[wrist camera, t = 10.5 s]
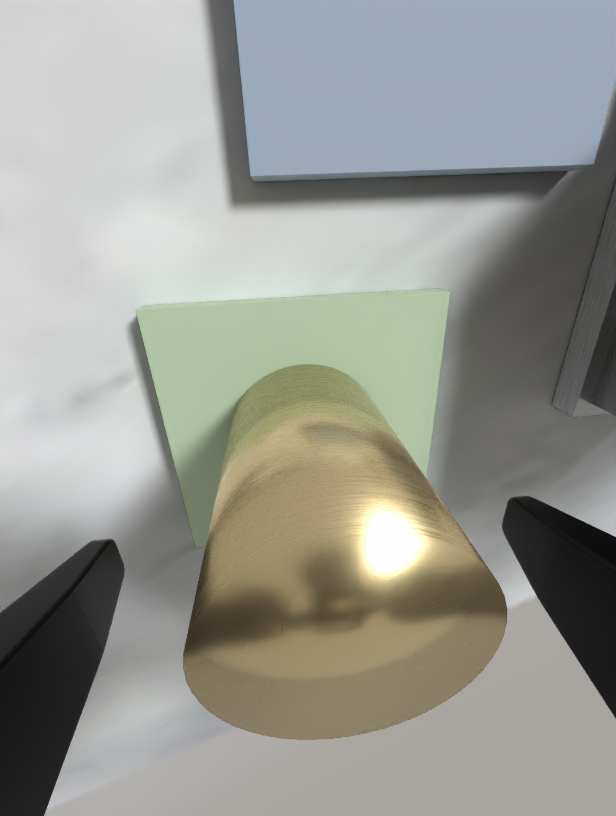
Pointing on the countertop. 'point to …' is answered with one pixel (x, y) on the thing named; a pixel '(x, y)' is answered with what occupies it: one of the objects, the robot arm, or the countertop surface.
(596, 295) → the grey block with base
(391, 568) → the gold metal cylinder
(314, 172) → the slate mat
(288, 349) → the sage mat
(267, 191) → the countertop surface
